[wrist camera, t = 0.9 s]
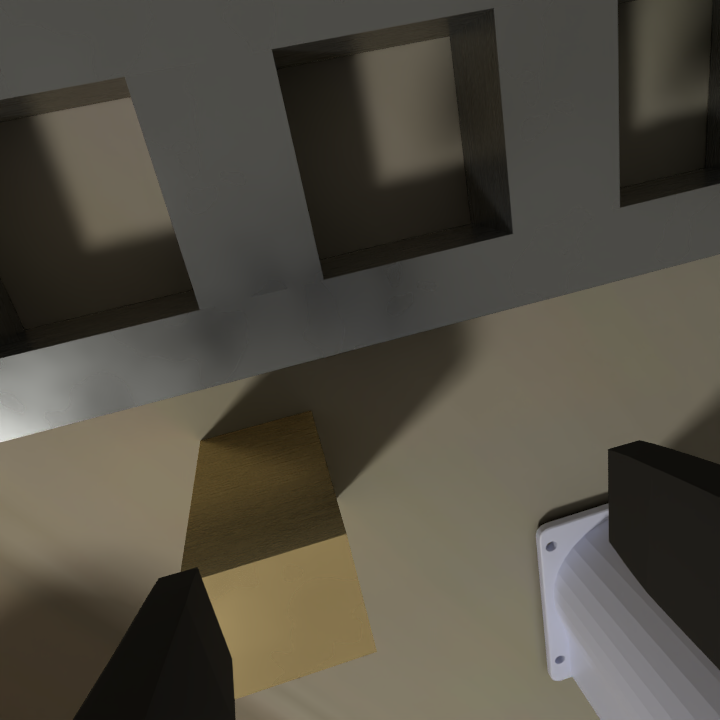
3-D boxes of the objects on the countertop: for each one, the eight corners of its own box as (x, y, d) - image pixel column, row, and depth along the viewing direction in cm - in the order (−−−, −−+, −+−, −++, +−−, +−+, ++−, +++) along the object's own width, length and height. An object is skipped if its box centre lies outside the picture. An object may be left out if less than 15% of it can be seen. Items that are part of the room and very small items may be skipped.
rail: (753, 216, 20) (834, 223, 17) (-19, 411, 17) (-70, 460, 14) (780, -110, 16) (889, -167, 14) (-206, 57, 13) (-326, 27, 10)
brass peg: (334, 500, 21) (376, 651, 14) (232, 530, 20) (228, 701, 14) (311, 410, 19) (346, 533, 13) (200, 440, 19) (178, 585, 12)
